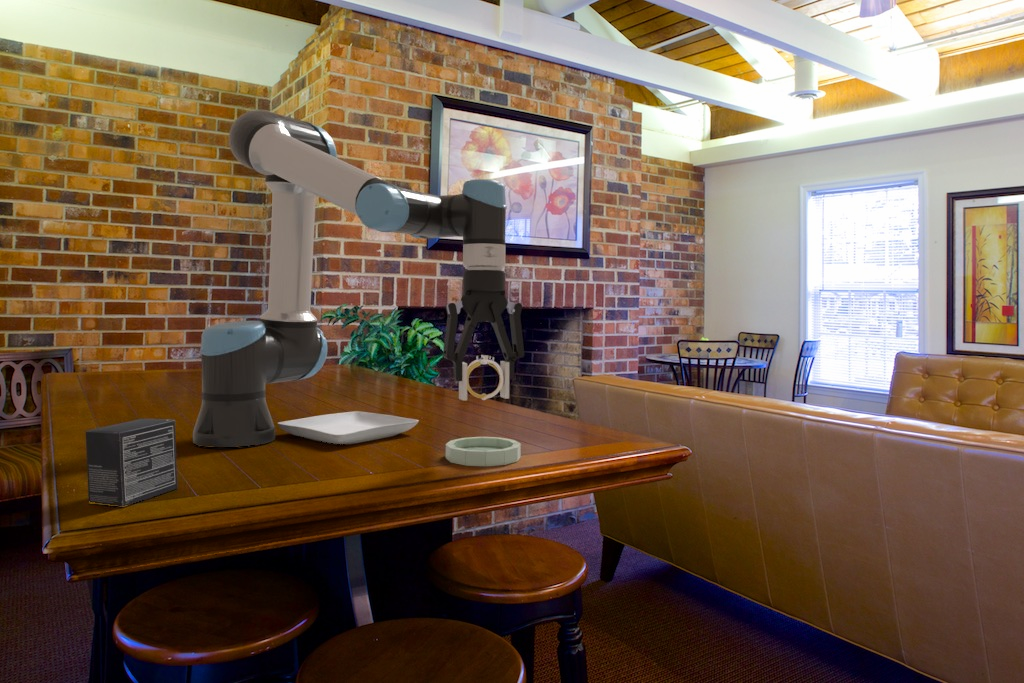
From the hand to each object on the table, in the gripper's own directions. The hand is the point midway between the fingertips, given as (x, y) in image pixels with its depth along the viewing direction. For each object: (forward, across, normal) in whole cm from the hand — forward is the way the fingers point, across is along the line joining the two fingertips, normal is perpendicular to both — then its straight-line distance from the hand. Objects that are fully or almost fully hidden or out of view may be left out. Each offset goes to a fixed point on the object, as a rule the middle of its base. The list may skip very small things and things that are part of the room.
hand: (484, 398), depth 130 cm
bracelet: (0, 0, 0) cm, 0 cm away
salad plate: (+11, -20, +29) cm, 37 cm away
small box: (+11, -55, -8) cm, 57 cm away
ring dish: (+11, 0, 0) cm, 11 cm away
